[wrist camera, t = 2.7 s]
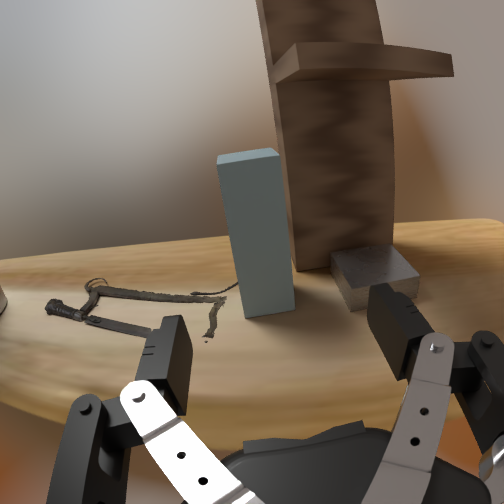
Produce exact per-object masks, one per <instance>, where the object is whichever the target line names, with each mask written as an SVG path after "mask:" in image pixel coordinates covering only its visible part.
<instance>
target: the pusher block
mask: <svg viewBox="0 0 504 504" xmlns="http://www.w3.org/2000/svg"><path fill="white" fill-rule="evenodd" d="M217 170H218V175H219V182H220V187H221V193H222V198H223V204H224V209H225V215H226V220H227V226H228V231H229V237H230V242H231V247H232V253H233V258H234V263H235V269H236V274H237V279H238V284H239V289H240V295H241V300H242V305H243V310H244V315H245V318H250V317H256V316H262V315H269V314H274V313H280V312H286V311H292V310H295V299H294V287H293V275H292V264H291V253H290V242H289V232H288V222H287V212H286V203H285V194H284V185H283V176H282V168H281V159H280V155H279V154H278V153H277V152H276V151H275V150H273V149H272V148H264V149H257V150H251V151H244V152H237V153H231V154H225V155H219V156H218V159H217Z"/></svg>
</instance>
